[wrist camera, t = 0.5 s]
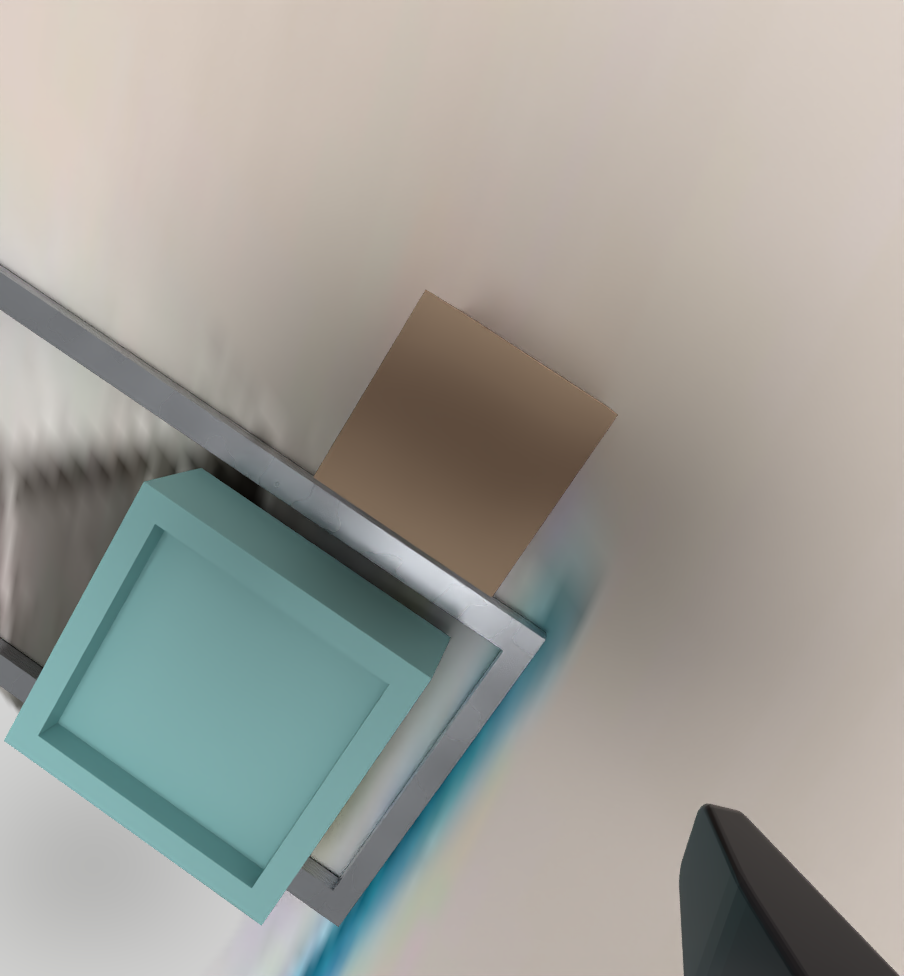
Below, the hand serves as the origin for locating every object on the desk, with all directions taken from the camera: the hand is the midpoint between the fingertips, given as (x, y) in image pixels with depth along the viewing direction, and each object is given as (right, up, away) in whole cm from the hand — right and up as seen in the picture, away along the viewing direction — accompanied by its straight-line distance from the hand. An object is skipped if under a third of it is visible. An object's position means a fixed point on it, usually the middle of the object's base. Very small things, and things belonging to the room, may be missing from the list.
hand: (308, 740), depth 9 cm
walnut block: (+3, +5, +13) cm, 14 cm away
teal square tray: (-4, -3, +15) cm, 16 cm away
